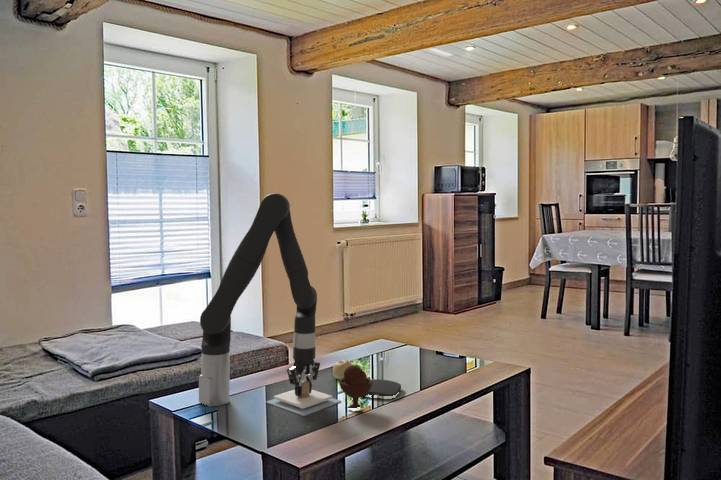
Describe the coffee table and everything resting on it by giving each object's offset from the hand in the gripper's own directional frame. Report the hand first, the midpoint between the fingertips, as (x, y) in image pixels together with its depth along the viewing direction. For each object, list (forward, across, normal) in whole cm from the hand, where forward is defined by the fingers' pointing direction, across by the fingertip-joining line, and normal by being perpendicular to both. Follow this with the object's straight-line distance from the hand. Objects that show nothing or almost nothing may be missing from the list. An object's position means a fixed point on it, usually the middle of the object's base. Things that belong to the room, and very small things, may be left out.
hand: (303, 394), depth 206 cm
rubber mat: (+3, 0, 0) cm, 3 cm away
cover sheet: (+1, 0, 0) cm, 1 cm away
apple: (+3, +29, +8) cm, 30 cm away
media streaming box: (+3, +26, -12) cm, 29 cm away
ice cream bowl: (+3, +7, -17) cm, 19 cm away
